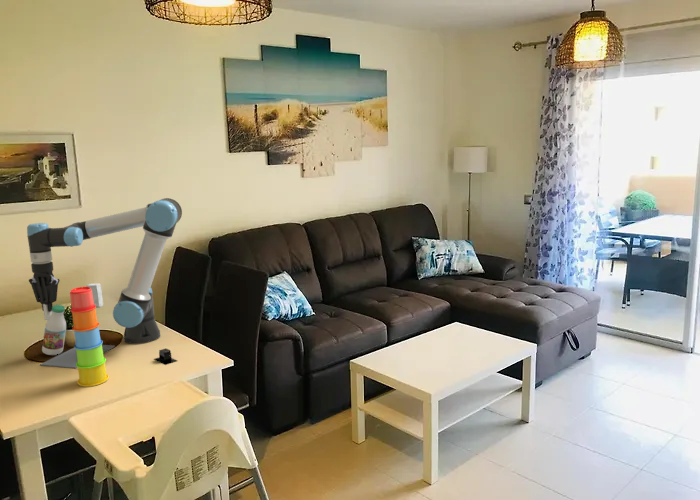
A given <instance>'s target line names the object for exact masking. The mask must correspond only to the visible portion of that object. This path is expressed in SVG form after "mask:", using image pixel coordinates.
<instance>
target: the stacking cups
mask: <svg viewBox="0 0 700 500" xmlns="http://www.w3.org/2000/svg"><path fill="white" fill-rule="evenodd" d="M69 297H70V303H71V305H70V306H71V309H70V312H71V314H72V324H73V326H72V327H71V328H72V330H73V332H74V334H73V335H74V340H75V344H74V347H73V348H75V349H76V352H77V361H78V362H77V363H76V366H77V370H78V380H77V385H79V387H84V388H85V387H88V388H89V387H96V386H99V385H102V384H104V383H106V382H107V381H108V380H109V377H110V376H109V374H107V369H106V361H107V359H106V358H107V357H104V353H103V350H102V345H103V340H102V339H101V335H100V334H101V333H100V327H99V326H100V322H98V317H97V311H96V308H97V307H96V305H94V301H93V295H92V290H91V289H90V287H86V286H79V287H75V288H72V289H71V290H70V292H69Z"/></svg>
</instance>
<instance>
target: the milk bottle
mask: <svg viewBox="0 0 700 500" xmlns="http://www.w3.org/2000/svg"><path fill="white" fill-rule="evenodd" d="M65 310H66V307H65V306H64V305H61V304H54V305H53V307H52V314H51V316H50V318H49V319H48V320H46V323H45V327H44V333H43V338H42V339H43V341H42V347H41V351H42V353H43V354H45V355H47V356H58V355H60V354H62V353H63V351H64V345H65V339H66V331H67V322H66V319H65V315H64V314H65ZM57 354H58V355H57Z"/></svg>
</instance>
